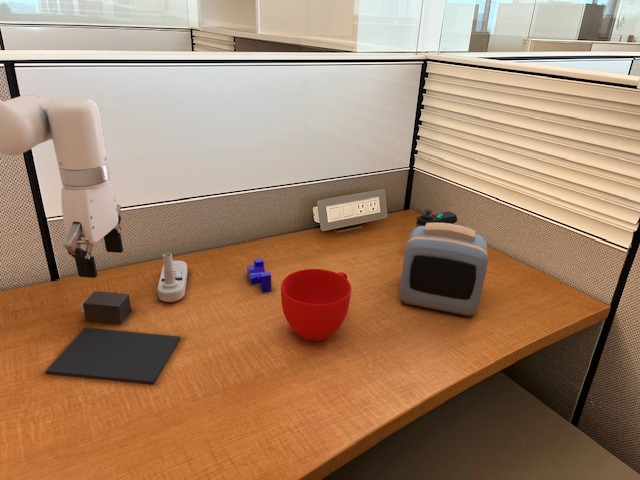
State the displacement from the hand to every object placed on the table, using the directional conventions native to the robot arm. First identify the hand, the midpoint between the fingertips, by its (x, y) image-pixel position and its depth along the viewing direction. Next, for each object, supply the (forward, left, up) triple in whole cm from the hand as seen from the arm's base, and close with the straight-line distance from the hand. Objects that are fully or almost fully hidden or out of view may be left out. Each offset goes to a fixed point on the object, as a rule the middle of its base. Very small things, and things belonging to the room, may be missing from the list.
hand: (102, 263), depth 88 cm
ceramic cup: (+41, +3, -12) cm, 42 cm away
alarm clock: (+66, +19, -12) cm, 69 cm away
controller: (+68, +46, -12) cm, 83 cm away
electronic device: (+8, +13, -12) cm, 19 cm away
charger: (0, 0, -12) cm, 12 cm away
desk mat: (+7, -11, -12) cm, 17 cm away
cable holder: (+26, +17, -12) cm, 33 cm away
